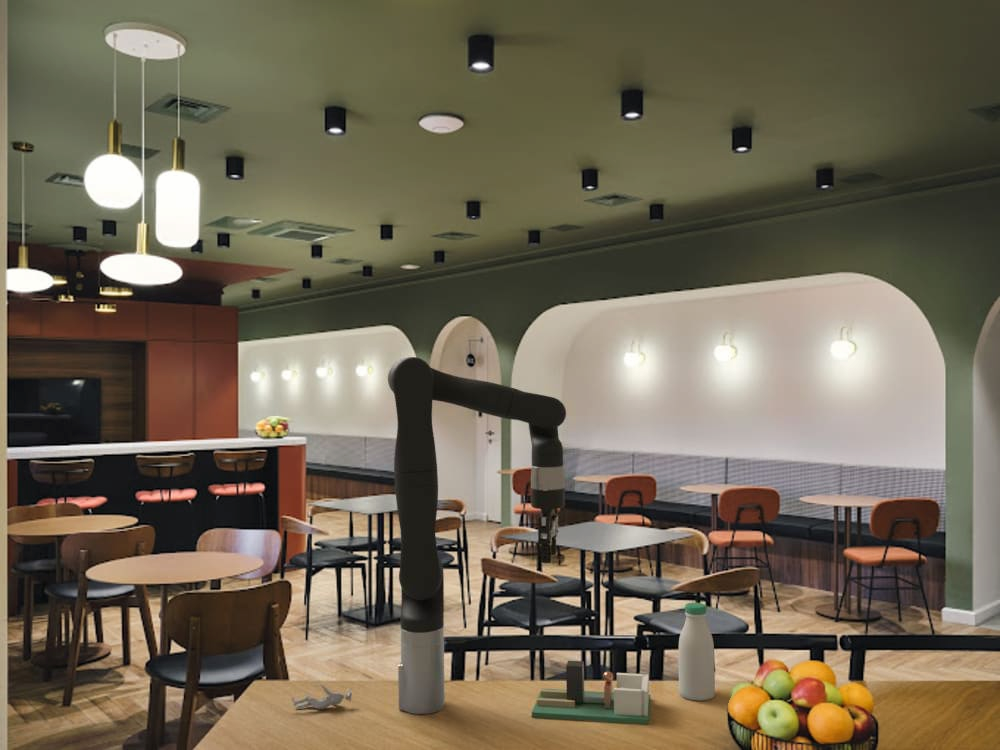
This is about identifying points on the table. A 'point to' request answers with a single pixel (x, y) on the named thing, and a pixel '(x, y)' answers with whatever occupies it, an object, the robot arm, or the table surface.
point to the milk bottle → (696, 656)
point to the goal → (631, 694)
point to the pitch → (580, 709)
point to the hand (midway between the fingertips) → (548, 558)
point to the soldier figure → (322, 699)
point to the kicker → (577, 685)
